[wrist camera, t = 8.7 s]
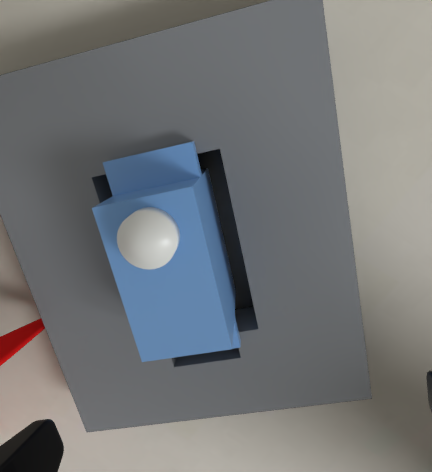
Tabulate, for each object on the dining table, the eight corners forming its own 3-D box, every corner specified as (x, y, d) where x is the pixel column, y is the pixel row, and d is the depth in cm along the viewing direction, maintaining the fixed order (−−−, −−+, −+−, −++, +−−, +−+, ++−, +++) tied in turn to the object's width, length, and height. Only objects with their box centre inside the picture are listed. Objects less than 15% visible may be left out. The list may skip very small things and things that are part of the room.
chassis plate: (358, 368, 21) (371, 398, 19) (102, 402, 24) (86, 432, 21) (310, 6, 16) (320, -14, 14) (-13, 93, 18) (-50, 88, 16)
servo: (241, 314, 21) (238, 391, 15) (174, 325, 22) (146, 403, 16) (201, 138, 18) (178, 147, 12) (126, 155, 19) (69, 172, 13)
